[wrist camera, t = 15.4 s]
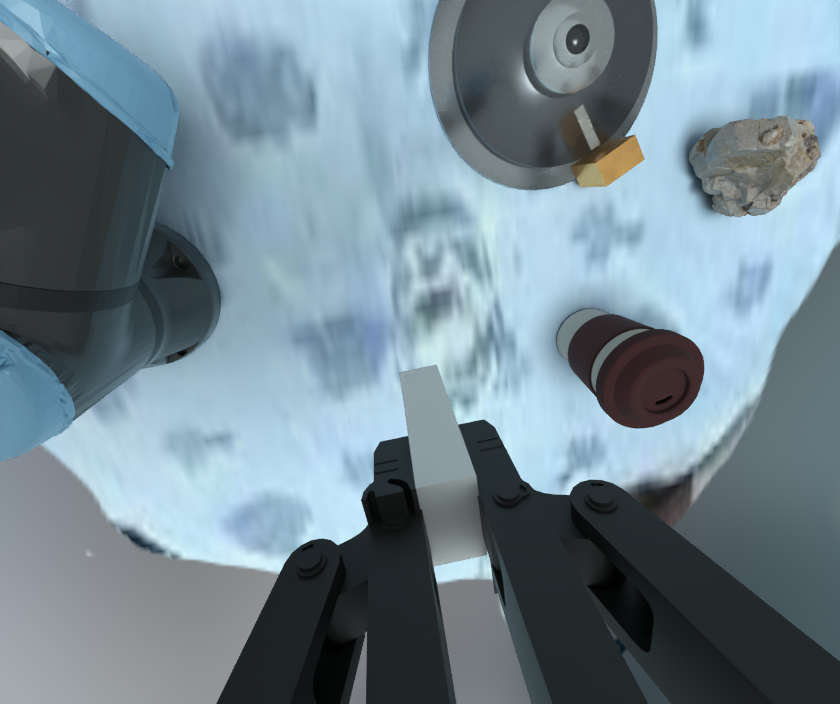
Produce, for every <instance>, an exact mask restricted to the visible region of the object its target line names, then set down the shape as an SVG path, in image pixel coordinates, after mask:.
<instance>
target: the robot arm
mask: <svg viewBox="0 0 840 704" xmlns="http://www.w3.org/2000/svg"><path fill="white" fill-rule="evenodd" d="M178 120H179V108H178V103H177V100H176V98H175V96H174V94H173V92H172V90H171V89H170V87H169V86H168V84H167V83H166V82H165V81H164V80H163V79H162V78H161V77H160V76H159V75H158V74H157V73H156V72H155V71H154V70H153V69H152V68H150V67H149V66H148V65H147V64H145V63H144V62H143V61H142V60H140V59H139V58H138V57H136V56H135V55H134V54H132V53H131V52H129V51H128V50H127V49H125V48H124V47H123V46H121V45H120V44H119V43H117V42H116V41H115V40H113V39H112V38H110V37H109V36H108V35H106V34H105V33H103V32H102V31H100V30H99V29H98V28H96V27H95V26H93V25H92V24H90V23H89V22H88V21H86V20H85V19H83V18H82V17H80V16H79V15H77V14H76V13H75V12H73V11H72V10H70V9H69V8H67V7H66V6H64V5H63V4H61V3H60V2H58V1H57V0H0V462H1V461H3V460H8V459H10V458H15V457H18V456H20V455H22V454H24V453H26V452H28V451H29V450H31V449H33V448H35V447H36V446H38V445H40V444H41V443H43V442H45V441H46V440H48V439H50V438H51V437H53V436H56V435H58V434H60V433H62V432H63V431H64V430H65V429H67V428H69V425H70V424H72V421H74V420H75V419H76V418H78V417H79V416H80V415H82V414H83V413H84V412H85V411H87V410H88V409H89V408H91V407H92V406H93V405H95V404H96V403H97V402H99V401H100V400H101V399H102V398H104V397H105V396H106V395H108V394H109V393H110V392H112V391H113V390H114V389H116V388H117V387H118V386H120V385H121V384H122V383H123V382H125V381H126V380H127V379H129V378H130V377H131V376H133V375H134V374H135V373H137V372H138V371H139V370H140V369H144V368H149V367H154V366H159V365H164V364H168V363H172V362H175V361H178V360H180V359H182V358H184V357H186V356H188V355H189V354H191V353H192V352H193V351H195V350H196V349H197V348H198V347H199V346H200V345H202V344H203V343H204V342H205V341H206V340H207V339H208V338H209V336H210V335H211V334H212V332H213V330H214V329H215V326H216V324H217V322H218V318H219V314H220V293H219V288H218V284H217V281H216V279H215V276H214V274H213V272H212V270H211V268H210V266H209V265H208V263H207V261H206V260H205V259H204V257H203V256H202V255H201V254H200V252H199V251H198V250H197V249H196V248H195V247H194V246H193V245H192V244H191V243H190V242H188V241H187V240H186V239H185V238H183V237H182V236H181V235H179V234H178V233H176V232H174V231H173V230H171V229H169V228H167V227H165V226H163V225H161V224H158V223H156V222H155V221H156V217H157V213H158V209H159V205H160V201H161V197H162V193H163V189H164V185H165V181H166V177H167V173H168V169H169V170H172V169H173V165H174V161H173V159H172V158H171V156H172V151H173V145H174V140H175V135H176V130H177V125H178ZM400 380H401V387H402V394H403V401H404V408H405V416H406V423H407V430H408V436H406V437H401V438H397V439H392V440H387V441H382V442H380V443H379V445H378V446H377V448H376V450H375V452H374V482H373V483H371V484H370V485H369V486H368V487H367V488H366V490H365V491H364V492H363V496H362V499H361V501H362V505H363V508H364V511H365V515H366V518H367V522H368V525H367V527H366V528H365V529H364V530H363V531H362V532H361V533H360V534H358V535H357V536H355V537H353V538H352V539H350V540H348V541H346V542H344V543H342V544H340V545H336V544H335V543H334V542H333V541H331V540H327V539H317V540H311V541H309V542H307V543H305V544H303V545H301V546H300V547H299V548H297V549H296V550H295V551H294V552H293V553H292V554H291V555H290V557H289V558H288V559H287V561H286V562H285V564H284V566H283V568H282V570H281V572H280V574H279V576H278V578H277V580H276V583H275V585H274V587H273V589H272V591H271V593H270V595H269V597H268V599H267V601H266V603H265V605H264V607H263V609H262V611H261V614H260V615H259V617H258V620H257V621H256V624H255V626H254V628H253V630H252V632H251V634H250V636H249V638H248V640H247V642H246V644H245V646H244V648H243V650H242V653H241V654H240V656H239V659H238V660H237V663H236V665H235V667H234V669H233V671H232V673H231V675H230V677H229V679H228V681H227V683H226V685H225V687H224V689H223V691H222V693H221V695H220V697H219V699H218V702H217V704H349V701H350V696H351V692H352V688H353V684H354V680H355V676H356V671H357V667H358V663H359V659H360V654H361V650H362V646H363V642H364V638H365V632H367V680H366V681H367V682H366V704H456V698H455V692H454V686H453V680H452V674H451V667H450V662H449V655H448V649H447V643H446V637H445V631H444V624H443V618H442V612H441V606H440V600H439V593H438V588H437V582H436V578H435V573H434V567H433V566H438V565H442V564H447V563H451V562H456V561H461V560H465V559H470V558H474V557H479V556H484V555H487V551H488V554H489V557H490V562H491V569H492V577H493V584H494V591H495V594H496V593H498V595H499V598H500V601H501V605H502V608H503V611H504V614H505V618H506V621H507V624H508V627H509V631H510V634H511V637H512V641H513V644H514V647H515V650H516V654H517V657H518V660H519V663H520V667H521V669H522V673H523V676H524V680H525V683H526V686H527V690H528V693H529V696H530V699H531V703H532V704H648V703H647V701H646V699H645V697H644V695H643V693H642V692H641V690H640V688H639V686H638V684H637V682H636V681H635V678H634V676H633V675H632V673H631V671H630V669H629V667H628V665H627V663H626V661H625V660H624V658H623V656H622V654H621V652H620V650H619V648H618V646H617V645H616V643H615V641H614V639H613V637H612V636H611V633H610V631H609V630H608V628H607V626H606V624H607V625H608V626H609V627H610V628H611V630H612V631H613V632H614V633H615V635H616V636H617V637H618V638H619V640H620V641H621V642H622V643H623V645H624V646H625V647H626V648H627V650H628V651H629V652H630V653H631V654H632V656H633V657H634V658H635V659H636V661H637V662H638V663H639V664H640V666H641V667H642V668H643V669H644V670H645V672H646V673H647V674H648V675H649V677H650V678H651V679H652V680H653V682H654V683H655V684H656V685H657V686H658V688H659V689H660V690H661V692H662V693H663V694H664V695H665V696H666V698H667V699H668V700H669V701H670V703H671V704H840V661H838V660H837V659H836V658H834V657H833V656H832V655H831V654H830V653H828V652H827V651H826V650H824V649H823V648H822V647H821V646H819V645H818V644H817V643H816V642H815V641H813V640H812V639H811V638H809V637H808V636H807V635H805V634H804V633H803V632H802V631H801V630H799V629H798V628H797V627H796V626H794V625H793V624H792V623H791V622H789V621H788V620H787V619H785V618H784V617H783V616H782V615H780V614H779V613H778V612H777V611H775V610H774V609H773V608H772V607H770V606H769V605H768V604H767V603H765V602H764V601H763V600H762V599H760V598H759V597H758V596H757V595H755V594H754V593H753V592H752V591H750V590H749V589H748V588H747V587H745V586H744V585H743V584H741V583H740V582H739V581H738V580H736V579H735V578H734V577H733V576H731V575H730V574H729V573H728V572H726V571H725V570H724V569H723V568H721V567H720V566H719V565H717V564H716V563H715V562H714V561H712V560H711V559H710V558H709V557H707V556H706V555H705V554H704V553H702V552H701V551H700V550H699V549H697V548H696V547H695V546H693V545H692V544H691V543H690V542H689V541H687V540H686V539H685V538H684V537H682V536H681V535H680V534H679V533H677V532H676V531H675V530H674V529H672V528H671V527H670V526H668V525H667V524H666V523H665V522H663V521H662V520H661V519H660V518H658V517H657V516H656V515H655V514H653V513H652V512H651V511H650V510H648V509H647V508H646V507H645V506H643V505H642V504H641V503H640V502H638V501H637V500H636V499H634V498H633V497H632V496H631V495H629V494H628V493H627V492H626V491H624V490H623V489H622V488H620V487H618V486H616V485H615V484H613V483H610V482H606V481H603V480H587V481H583V482H580V483H579V484H577V485H576V486H574V487H573V489H572V491H571V493H570V495H554V494H546V493H542V492H539V491H536V490H534V489H533V488H532V487H531V486H530V485H529V484H528V483H527V482H525V481H523V480H522V479H521V478H520V476H519V474H518V472H517V470H516V468H515V466H514V464H513V462H512V460H511V458H510V456H509V454H508V452H507V450H506V448H505V447H504V445H503V443H502V441H501V439H500V437H499V435H498V433H497V431H496V429H495V427H494V426H492V425H491V424H490V423H488V422H487V421H485V420H479V421H474V422H469V423H465V424H460V425H458V423H457V421H456V418H455V415H454V412H453V410H452V407H451V404H450V401H449V398H448V396H447V393H446V390H445V387H444V385H443V382H442V379H441V376H440V373H439V371H438V368H437V365H434V366H429V367H424V368H419V369H414V370H408V371H403V372H400ZM486 548H487V550H486ZM604 621H605V622H606V624H605V622H604Z"/></svg>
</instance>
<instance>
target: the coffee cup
mask: <svg viewBox="0 0 840 704" xmlns="http://www.w3.org/2000/svg"><path fill="white" fill-rule="evenodd" d="M557 347H558V350H559V352H560V354H561V355H562V357H563V358H564V359H565V360H566V361H567V362H568V363H569V365H570V367H571V369H572V370H573V372H574V373H575V374H576V375H577V376H578V377H579V378H580V379H581V381H582V382H583V383H584V384H585V385H586V386H587V387H588V388H589V389H590V391H591V392H592V393H593V394H594V395H595V396H596V397H597V400H598V402H599V404H600V406H601V408H602V409H603V410H604V411H605V413H606V414H608V415H609V416H610V417H611V418H612V419H613V420H614V421H615V422H617V423H619V424H621V425H623V426H626V427H630V428H648V427H654V426H657V425H660V424H662V423H665V422H667V421H669V420H672V419H674V418H676V417H677V416H679V415H681V414H682V413H683V412H684V411H686V410H687V409H688V408H689V407H690V406H691V404H692V403H693V402H694V400H695V399H696V397H697V395H698V392H699V390H700V386H701V383H702V380H703V375H704V360H703V356H702V354H701V352H700V350H699V348H698V347H697V346H696V344H695V343H694V342H693V341H691V340H690V339H688V338H686V337H684V336H682V335H680V334H678V333H676V332H673V331H670V330H664V329H654V328H651V327H649V326H646V325H643V324H641V323H638V322H635V321H633V320H630V319H627V318H625V317H622V316H619V315H614V314H609V313H606V312H603V311H601V310H598V309H584V310H580V311H578V312H576V313H574V314H572V315H571V316H570V317H568V318H567V319H566V320H565V321H564V323H563V324H562V326H561V328H560V330H559V332H558V336H557Z"/></svg>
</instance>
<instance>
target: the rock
mask: <svg viewBox="0 0 840 704" xmlns="http://www.w3.org/2000/svg"><path fill="white" fill-rule="evenodd" d="M820 156H821V152H820V148H819V144H818V137H816V136H815V132H814V125H813V124H812V123H811V122H810V121H809V120H799V119H797V120H794V119H792V118H790V117H788V116H778V117H776V118H773V119H769V118H766V119H761V120H755V119H745V120H739V121H734V122H730V123H728V124H727V125H725V126H723V128H713V129H711V130H709V131H708V132H707V133H706V134H704V135H703V136H702V137H701V138H700V139H699V140H698V141H697V142H696V143H695V145H694V146H693V148H692V149H691V151H690V154H689V161H690V163H691V165H692V166H693V168H694V171H695V175H696V176H697V177H698V178H701V179H702V188H703V190H704V191H705V192H706V193H708V194H712V195H714V196H713V197H712V199H713V202H714V203H713V204H712V206H713V209H714V210H715V211H716V212H718V213H721V214H724V215H726V216H735V217H741V216H745V215H747V214H748V213H749V214H750V215H752V216H757V215H763V214H766V213H768V212H770V211H771V210H773V209H774V208H775V207H777V206H778V205H779V204H780V202H781V200H782V197H783V196H784V195H786V194H787V191H788V190H789V189H791V188H792V187H793V186H794V185H796V183H797V182H799V181H800V180H801V179H802V178H804V177H805V176H806V175H807V174H808V173H809V172H811V171H813V169H814V168H815V166H816V164H817V160H818V159H819V158H820Z"/></svg>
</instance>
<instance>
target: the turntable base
mask: <svg viewBox="0 0 840 704" xmlns="http://www.w3.org/2000/svg"><path fill="white" fill-rule="evenodd" d="M465 1H466V0H440V2H439V5H438V8H437V11H436V15H435V19H434V23H433V27H432V33H431V40H430V47H429V75H430V86H431V92H432V97H433V102H434V105H435V109H436V112H437V115H438V118H439V121H440V123H441V125H442V128H443V130H444V132H445V134H446V136H447V137H448V139H449V141H450V142H451V144H452V146H453V147H454V148H455V150H456V151H457V152H458V154H459V155H460V156H461V158H462V159H463V160H464V161H465V162H466V163H468V164H469V165H470V166H471V167H472V168H473V169H474V170H476V171H477V172H478V173H480V174H481V175H482V176H484V177H486V178H488V179H489V180H491V181H493V182H495V183H498V184H501V185H503V186H506V187H511V188H516V189H523V190H539V189H549V188H553V187H557V186H561V185H564V184H566V183H569V182H571V181H574V180H576V177H575V175H574V173H573V171H572V168H571V166H572V165H573V164H575V163H576V162H577V161H579V160H580V159H579V160H577V161H575V162H572V163H569V164H565V165H561V166H555V167H549V168H538V169H531V168H524V167H519V166H516V165H512V164H509V163H507V162H505V161H503V160H501V159H499V158H498V157H496V156H495V155H493V154H492V153H490V152H489V151H488V150H487V149H486V148H485V147H484V146H482V145H481V143H480V142H479V141H478V140H477V139H476V137H475V136H474V135H473V133H472V132H471V130H470V129H469V127H468V126H467V124H466V122H465V120H464V118H463V115H462V113H461V111H460V108H459V105H458V102H457V99H456V94H455V90H454V85H453V75H452V50H453V41H454V35H455V31H456V26H457V22H458V19H459V16H460V13H461V10H462V7H463V5H464V3H465ZM650 1H651V8H652V15H653V44H652V53H651V59H650V64H649V68H648V72H647V75H646V79H645V82H644V84H643V87H642V90H641V92H640V95H639V97H638V99H637V101H636V103H635V105H634V107H633V108H632V110H631V112H630V113H629V115H628V116H627V118H626V120H625V121H624V122H623V123H622V125H621V126H620V127H619V129H618V130H617V131H616V132H615V133H614V134H613V135H612V136H611V137H610V138H609V139H608V140H607V141H610V140H614V139H619V138H623V137H625V136H626V134H627V133H628V131H629V130H630V128H631V127H632V125H633V123H634V121H635V120H636V118H637V116H638V114H639V112H640V110H641V107H642V105H643V103H644V101H645V98H646V95H647V92H648V89H649V86H650V83H651V79H652V75H653V70H654V66H655V59H656V51H657V16H656V7H655V2H654V0H650ZM581 159H582V158H581Z"/></svg>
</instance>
